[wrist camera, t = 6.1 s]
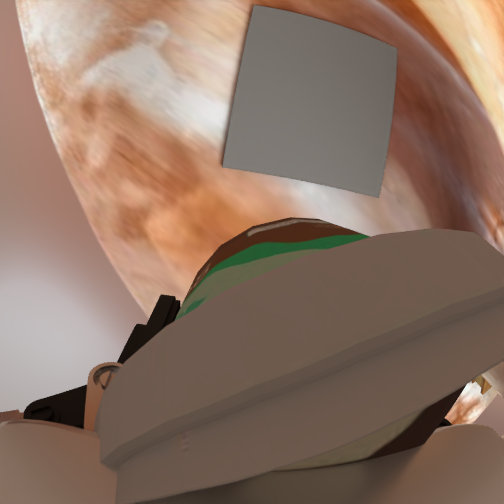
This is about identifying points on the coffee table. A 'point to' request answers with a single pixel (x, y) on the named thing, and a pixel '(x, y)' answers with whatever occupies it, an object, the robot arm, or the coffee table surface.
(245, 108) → the mat
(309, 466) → the food container
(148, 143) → the coffee table surface
